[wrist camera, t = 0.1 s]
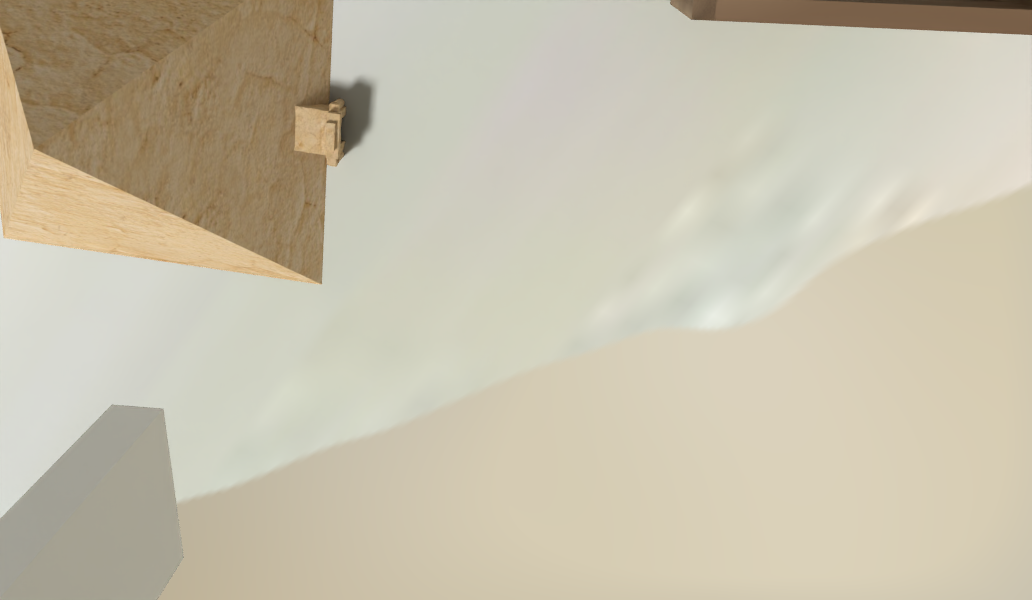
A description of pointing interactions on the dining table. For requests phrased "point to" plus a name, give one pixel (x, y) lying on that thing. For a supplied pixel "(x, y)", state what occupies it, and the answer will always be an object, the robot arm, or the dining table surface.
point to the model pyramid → (170, 130)
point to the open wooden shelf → (872, 13)
